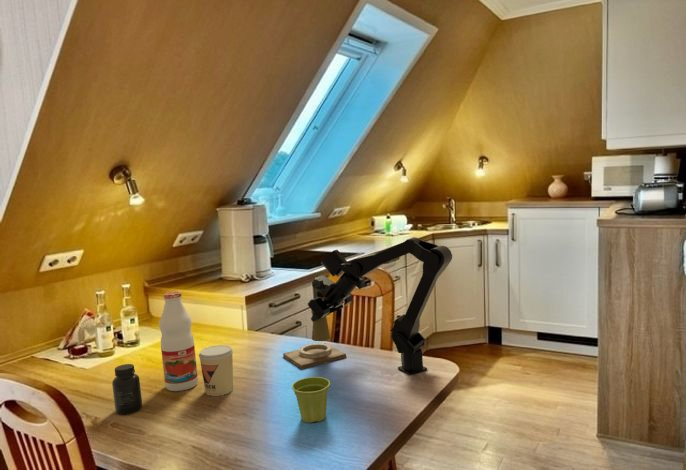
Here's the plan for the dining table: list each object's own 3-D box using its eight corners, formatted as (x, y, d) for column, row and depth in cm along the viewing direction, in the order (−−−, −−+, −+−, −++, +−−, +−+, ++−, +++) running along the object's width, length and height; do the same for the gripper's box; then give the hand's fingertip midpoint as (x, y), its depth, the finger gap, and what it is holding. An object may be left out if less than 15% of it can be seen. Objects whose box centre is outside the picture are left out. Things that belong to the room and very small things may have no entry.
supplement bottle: (122, 404, 152) (117, 363, 150) (146, 403, 151) (141, 361, 150) (111, 416, 145) (105, 372, 143) (136, 414, 145) (131, 371, 143)
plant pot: (318, 429, 130) (315, 394, 129) (286, 422, 135) (284, 388, 134) (339, 413, 138) (337, 380, 137) (309, 406, 143) (306, 374, 142)
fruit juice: (195, 377, 169) (186, 287, 166) (201, 387, 161) (191, 293, 157) (163, 383, 165) (153, 292, 162) (167, 394, 157) (157, 298, 153)
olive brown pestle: (334, 337, 179) (332, 304, 178) (320, 342, 175) (318, 308, 173) (321, 334, 183) (319, 302, 182) (307, 339, 179) (305, 306, 178)
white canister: (196, 392, 157) (192, 351, 156) (223, 381, 164) (219, 342, 162) (215, 400, 151) (210, 358, 149) (242, 388, 157) (239, 348, 156)
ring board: (346, 357, 178) (345, 350, 177) (301, 369, 170) (301, 361, 170) (326, 346, 190) (325, 339, 190) (283, 356, 182) (282, 349, 182)
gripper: (341, 263, 182) (316, 293, 189) (310, 274, 166) (284, 307, 173) (364, 287, 179) (337, 317, 186) (334, 301, 163) (306, 333, 170)
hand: (316, 318), depth 179 cm, fingers closed on olive brown pestle, 5 cm apart
